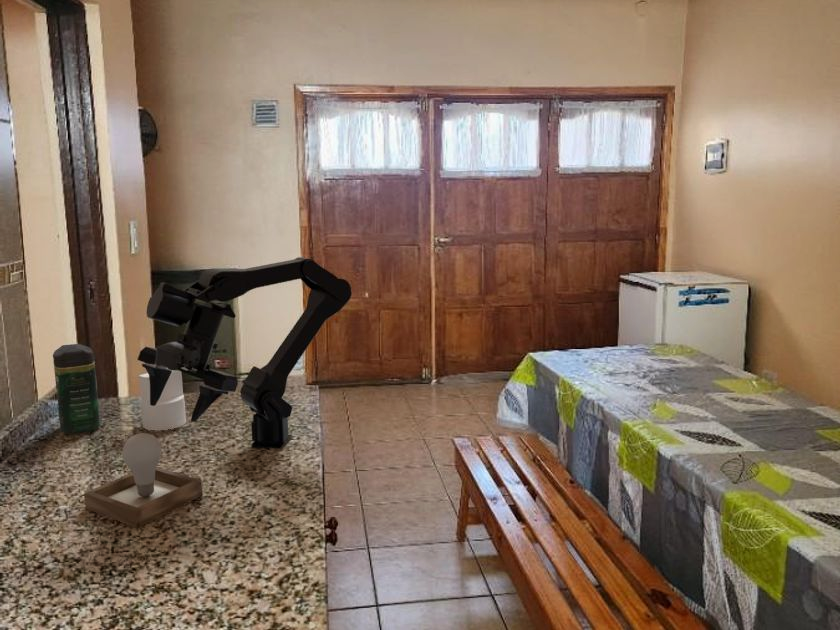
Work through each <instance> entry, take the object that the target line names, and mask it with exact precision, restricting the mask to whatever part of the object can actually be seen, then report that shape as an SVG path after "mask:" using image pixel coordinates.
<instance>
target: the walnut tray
mask: <svg viewBox="0 0 840 630" xmlns="http://www.w3.org/2000/svg"><path fill="white" fill-rule="evenodd" d="M83 496H84V497H83V498H84V508H85V510H87V509H88V511H89V510H91V511H90V512H92V511H93V513H95V512H96V513H95V514H97V513H98V514H97V515H100V514H101V516H103V515H104V517H105V516H107V517H106V518H108V517H110V518H109V519H111V518H112V519H111V520H113V519H115V520H114V521H116V520H118V521H117V522H119V521H120V522H119V523H121V522H123V523H122V524H124V523H126V524H125V525H127V524H128V525H127V526H129V525H131V526H130V527H132V526H133V527H132V528H135V529H140V528H141V527H143V526H145V525H148V524H149V523H151V522H153V521H154V520H157V519H159V518H161V517H164V516H165V515H167V514H168V512H169V513H171V512H173V511H175V510H177V509H179V508H181V507H184V506H185V505H187V504H189V503H190V502H189V501H191V502H193V501H194V499H195V500H197V499H199V498H201V497H203V484H202V480H201V479H198V478H195V477H191V476H188V475H185V474H181V473H177V472H176V471H172V470H168V469H166V468H165V469H164V468H162V467H158V466H157V467H156V470H155V481H154V492H153V493H152V494H151V495H150V496H149V497H143V496H140V495H138V491H137V484H135V480H134V476H133V474H132V472H131V473H128V474H127V475H123V476H121V477H119V478H117V479H114V480H112V481H109V482H107V483H105V484H103V485H100V486H97V487H95V488H93V489H91V490H88V491H86V492H84V493H83ZM200 496H201V497H200ZM198 497H199V498H198ZM196 498H197V499H196ZM192 500H193V501H192ZM188 502H189V503H188ZM186 503H187V504H186ZM184 504H185V505H184ZM180 506H181V507H180ZM178 507H179V508H178ZM176 508H177V509H176ZM172 510H173V511H172ZM170 511H171V512H170Z"/></svg>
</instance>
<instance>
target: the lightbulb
mask: <svg viewBox="0 0 840 630" xmlns="http://www.w3.org/2000/svg"><path fill="white" fill-rule="evenodd" d="M121 450H122V453H121V457H122V459H123V462H124V463H125V465H126V467H127V468H128V469H129V470H130V472H131V473H132V474H133V476H134V480H135V484H137V491H138V495H140V496H143V497H149V496H150V495H151V494H152V493H153V492H154V481H155V470H156V467H158V464H159V462H160V461H161V458H162V454H163V447H162V444H161V442H160V440H159V439H158V438H157V437H155V436H154V435H152V434H150V433H145V432H143V433H142V432H141V433H137V434H134V435H132V436H130V438H128V439H127V440H126V441H125V443H124V445H123V447H122V449H121Z"/></svg>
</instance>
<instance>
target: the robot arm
mask: <svg viewBox="0 0 840 630" xmlns="http://www.w3.org/2000/svg"><path fill="white" fill-rule="evenodd" d="M297 280H301V282H303V284H304V286H306V287H307V288H309V289H310V291H309V293H308V297H307V303H306V307H305V310H303V312H302V314H301V315H300V316H299V318H298V320H297V321H296V322H295V324H294V326H293V327H292V328H291V329H290V331H289V332H288V334H287V335H286V337H285V338H284V340H283V341H282V342H281V344H280V345H279V347H278V348H277V349H276V351H275V353H273V356H272V357H271V359H270V360H269V361H268V362H267V364H266V365H264V366H262V367H261V368H259V367H257V366H255V365H254V366H252V368H251V369H250V371H249V373H248V374H247V376H246V377H245V378H244V379H243V380H242V381H241V383H242V386H241V388H240V389H239V394H240V398H241V400H242V402H243V404H245V405H247V406H248V407H249V410H250V412H253V413H255V414H253V416H252V421H251V423H250V426H251V428H250V429H251V441H253V442H252V443H251V444H250V446H251V448H263V449H282V448H283V447H285V445H287V443H288V442H289V441H290V440H291V439H292V435H291V434H289V419H288V418H290V417H291V415H292V411H293V406H292V405H291V404H290V403H288V402H287V401H286V400H285V399H284V398H283V397H284V394H285V392H286V389H287V381H288V377H289V375H290V374H291V372H292V371H293V369H294V368H295V366H296V365H297V364H298V363H299V362H298V361H300V359H301V357H302V356H303V355H304V353H305V352H306V350H307V349H308V347H309V346H310V344H311V343H312V341H313V340H314V338H315V337H316V335H317V334H318V333H319V331H320V329H321V328H322V327H323V325H324V324H325V322H326V321H327V320H328V319H330V318H331V317H333V316H334V315H336V314H337V313H339V312H340V311H341V310H342V309H343V308H344V307H345V306H346V305H347V304H348V303H349V301H350V300H351V299H352V295H353V293H352V286H351V285H350V283H349V281H348V280H346V279H344V278H341V277H337V276H336V275H335V274H333V273H332V272H330V271H328V270H327V269H325V268H324V267H322V266H321V265H320V264H319V263H317V262H316V261H315V260H314V259H312V258H307V257H302V256H301V257H300V256H298V257H296V258H294V259H289V260H284V261H279V262H273V263H269V264H263V265H259V266H253V267H252V266H251V267H248V268H227V267H226V268H225V267H223V268H222V267H221V268H215V267H214V268H213V267H211V268H208V269H206V270H203V271H202V273H201V275H199V279H198V280H196V281H195V282H194V283H192V284H191V285H189V286H188V287H186V288H185V289H184V290H183V289H179V288H177V287H175V286H174V285H171V284H169V283H166V282H160V283H159V286H158V288H157V289H156V290H155V291H154V292H153V294H152V295H151V297H149V300H148V302H147V305H146V317H147V318H148V319H151V320H155V321H158V322H162V323H165V324H169V325H172V326H175V327H178V328H179V327H181V326H183V325H184V324H185V325H186V328H184V329H185V330H184V332H183V333H182V332H179V334H178V335H177V337H176V340H175V341H171V342H166V343H163V344H160V345H157V346H156V347H149V346H145V347H143V348H142V349H141V350H140V351H139V353H138V356H137V361H140V362H142V363H141V366H142V368H144V369H145V371H146V372H147V373H148V374H149V379H150V405H151V406H155V405H156V403H157V402H158V400H159V398H160V396H161V394H162V392H163V390H164V387H165V385H166V383H167V381H168V379H169V377H170V374H171V372H172V370H178V371H181V373H184V374H186V375H187V374H188V375H189V376H192V377H195V378H198V379H200V380H202V381H203V385H199V386H198V388H199V389H198V390H199V395H198V398H197V401H196V402H195V403H196V404H195V405H194V408H193V411H192V414H191V418H190V421H191V422H192V423H194V422H195V423H196V421H198V419H200V417H201V416H202V415H204V413H205V412H206V411H207V410H208V409H209V408H210V406H211V405H212V404H213V403H215V402H216V401H217V400H218V399H219V398H220V397H222V396H223V395H227V394H229V392H231V393H232V392H234V393H235V392H236V390H237V388H238V383H239V382H238V377H237V376H235V375H232V374H230V373H228V372H227V373H226V372H224V371H222V370H215V369H210V368H211V364H210V363H208V362H209V360H210V356H211V354H212V350H213V349H214V350H217V348H218V343H215V342H216V338H217V336H218V334H219V331H220V328H221V325H222V322H223V319H224V316H225V317H228V318H232V319H235V318H236V314H235V312H234V310H233V307H232V305H231V303H227V302H230V301H231V300H235V299H237V298H239V297H242V296H244V295H245V294H247V293H248V292H250V291H251V290H254V289H257V288H263V287H269V286H272V285H276V284H277V285H278V284H281V283H287V282H292V281H297ZM196 300H197V301H198V300H199V301H202V302H204V303H203V304H200V303H196V302H195V301H196ZM213 301H218V302H222V304H218V303H215V302H213ZM223 302H224V303H223ZM166 368H168V369H166Z"/></svg>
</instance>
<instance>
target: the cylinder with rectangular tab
mask: <svg viewBox="0 0 840 630" xmlns="http://www.w3.org/2000/svg"><path fill="white" fill-rule="evenodd" d="M166 369H168V368H167V367H166ZM182 373H183V372H181V371H178V370H172V372H171V374H170V377H169V379H168V381H167V383H166V385H165V387H164V390H163V392H162V394H161V396H160V398H159V400H158V402H157V403H156V405H155V406H151V405H150V379H149V374H148V372H147V373H144V374H139V375H138V379H139V387H140V405H141V406H140V407H141V417H142V418H141V419H142V428H143V429H144V428H145V430H146V429H147V431H150V430H164V431H169V430H170V429H171V430H174V428H175V429H178V428H180V427H182V426H184V425H185V424H186V422H187V417H186V406H185V405H186V404H185V395H184V391H183V389H184V388H183V376H182V375H183V374H182ZM168 429H169V430H168Z"/></svg>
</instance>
